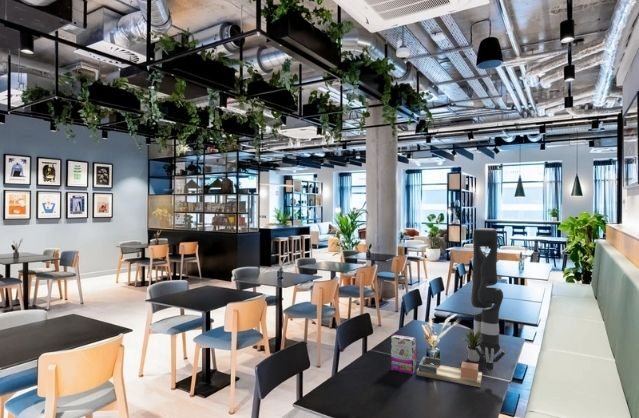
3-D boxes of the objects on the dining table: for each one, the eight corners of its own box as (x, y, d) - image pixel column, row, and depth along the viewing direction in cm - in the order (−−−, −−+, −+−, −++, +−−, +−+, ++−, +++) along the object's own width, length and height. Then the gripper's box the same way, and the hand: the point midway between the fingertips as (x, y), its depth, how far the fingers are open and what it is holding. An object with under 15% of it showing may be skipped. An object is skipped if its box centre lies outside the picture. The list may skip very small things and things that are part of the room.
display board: (421, 365, 198) (421, 355, 198) (482, 376, 186) (482, 366, 186) (416, 374, 188) (416, 364, 188) (480, 387, 175) (480, 375, 175)
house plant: (484, 368, 196) (484, 335, 195) (456, 361, 204) (456, 330, 204) (491, 359, 207) (492, 328, 207) (464, 353, 215) (465, 323, 215)
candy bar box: (415, 371, 192) (416, 337, 192) (413, 374, 188) (413, 340, 188) (393, 366, 197) (393, 333, 197) (390, 370, 193) (390, 336, 193)
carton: (462, 371, 188) (462, 361, 188) (478, 373, 185) (478, 364, 185) (460, 376, 181) (460, 367, 181) (477, 379, 178) (477, 369, 178)
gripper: (506, 331, 179) (505, 369, 179) (475, 327, 185) (474, 364, 185) (506, 336, 173) (505, 376, 173) (473, 331, 179) (473, 370, 179)
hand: (489, 370), depth 179 cm, fingers closed
